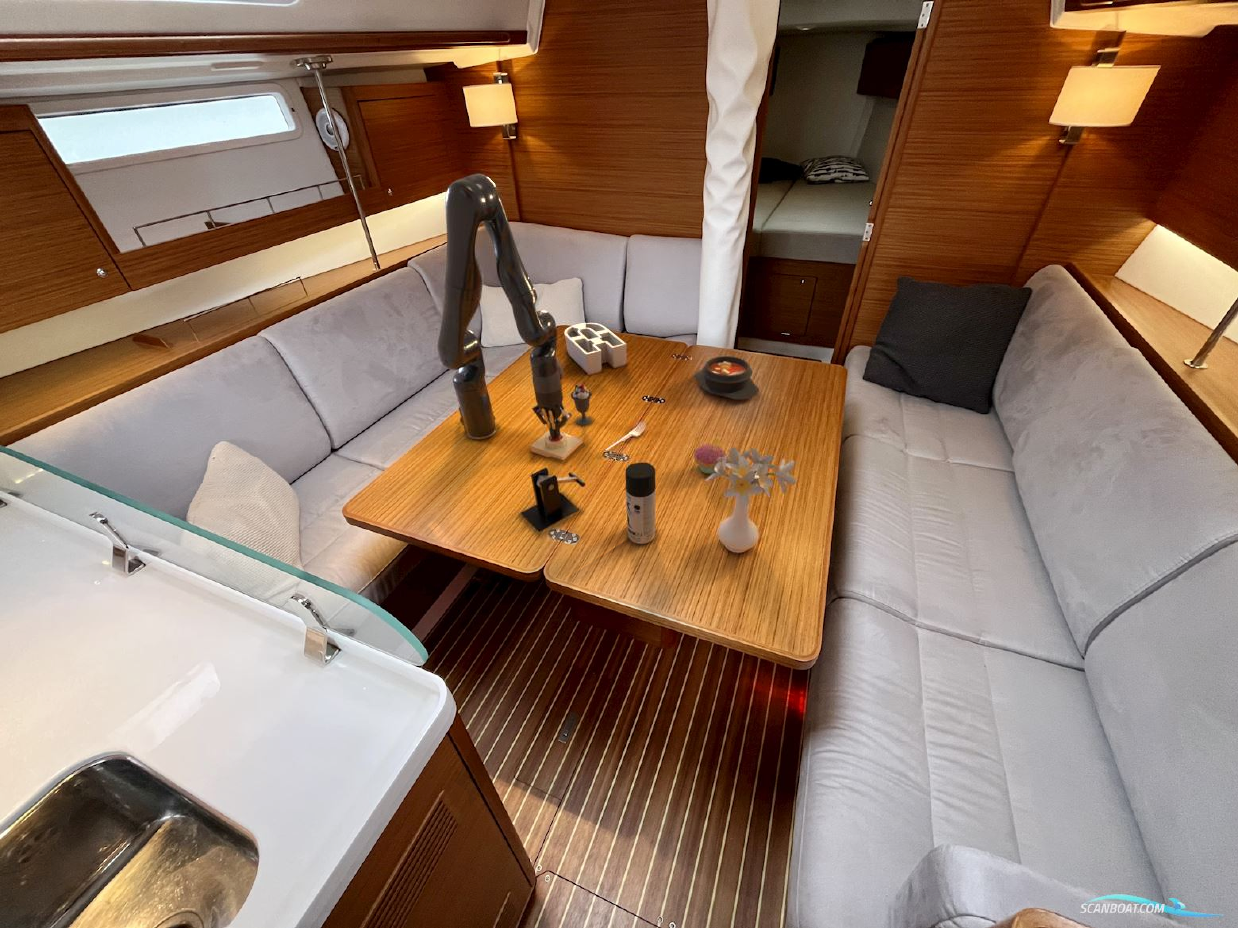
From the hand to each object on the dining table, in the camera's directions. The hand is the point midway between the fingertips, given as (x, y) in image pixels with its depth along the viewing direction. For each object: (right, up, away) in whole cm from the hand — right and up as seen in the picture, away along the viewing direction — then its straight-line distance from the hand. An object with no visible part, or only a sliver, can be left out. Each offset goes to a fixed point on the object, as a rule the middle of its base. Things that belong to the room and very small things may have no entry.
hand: (555, 437), depth 147 cm
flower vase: (+47, -26, -30) cm, 62 cm away
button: (0, -1, +1) cm, 2 cm away
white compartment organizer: (+8, +35, +51) cm, 63 cm away
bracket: (+1, -21, -20) cm, 29 cm away
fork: (+20, -1, +4) cm, 20 cm away
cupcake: (+44, -9, -9) cm, 46 cm away
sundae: (+8, +6, +14) cm, 17 cm away
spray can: (+24, -25, -27) cm, 44 cm away
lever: (+4, -13, -23) cm, 27 cm away
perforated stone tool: (-6, +26, +41) cm, 49 cm away
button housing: (0, -3, +3) cm, 4 cm away
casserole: (+56, +19, +27) cm, 65 cm away
